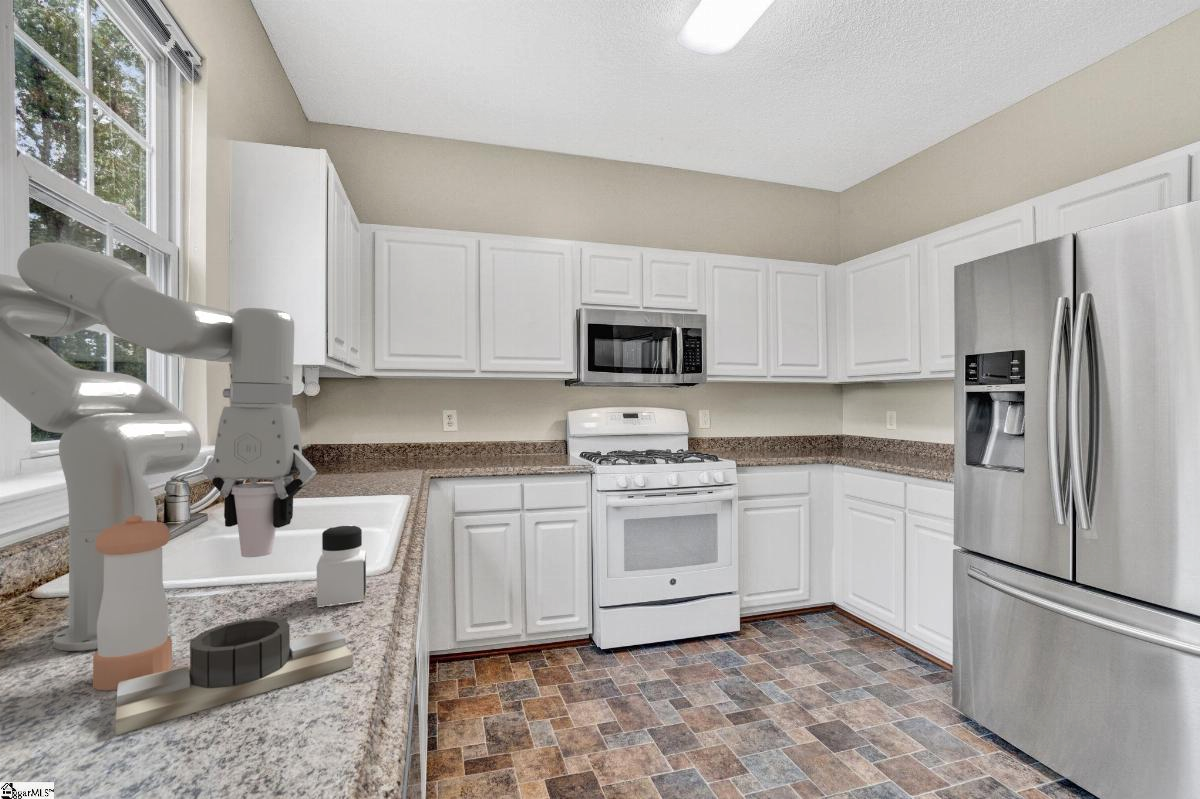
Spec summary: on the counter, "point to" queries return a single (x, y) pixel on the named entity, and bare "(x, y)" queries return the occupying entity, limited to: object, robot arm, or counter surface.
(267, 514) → the smoothie
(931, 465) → the counter surface
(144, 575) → the pepper shaker
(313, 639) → the socket rail
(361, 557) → the medicine bottle
